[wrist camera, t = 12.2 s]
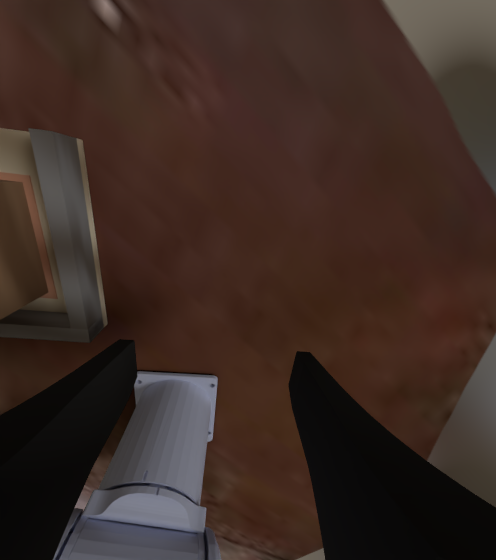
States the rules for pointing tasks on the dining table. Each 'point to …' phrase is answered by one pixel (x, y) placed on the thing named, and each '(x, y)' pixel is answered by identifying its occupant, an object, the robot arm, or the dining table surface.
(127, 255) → the dining table surface
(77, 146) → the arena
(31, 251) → the walnut block
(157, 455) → the robot arm
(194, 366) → the dining table surface
